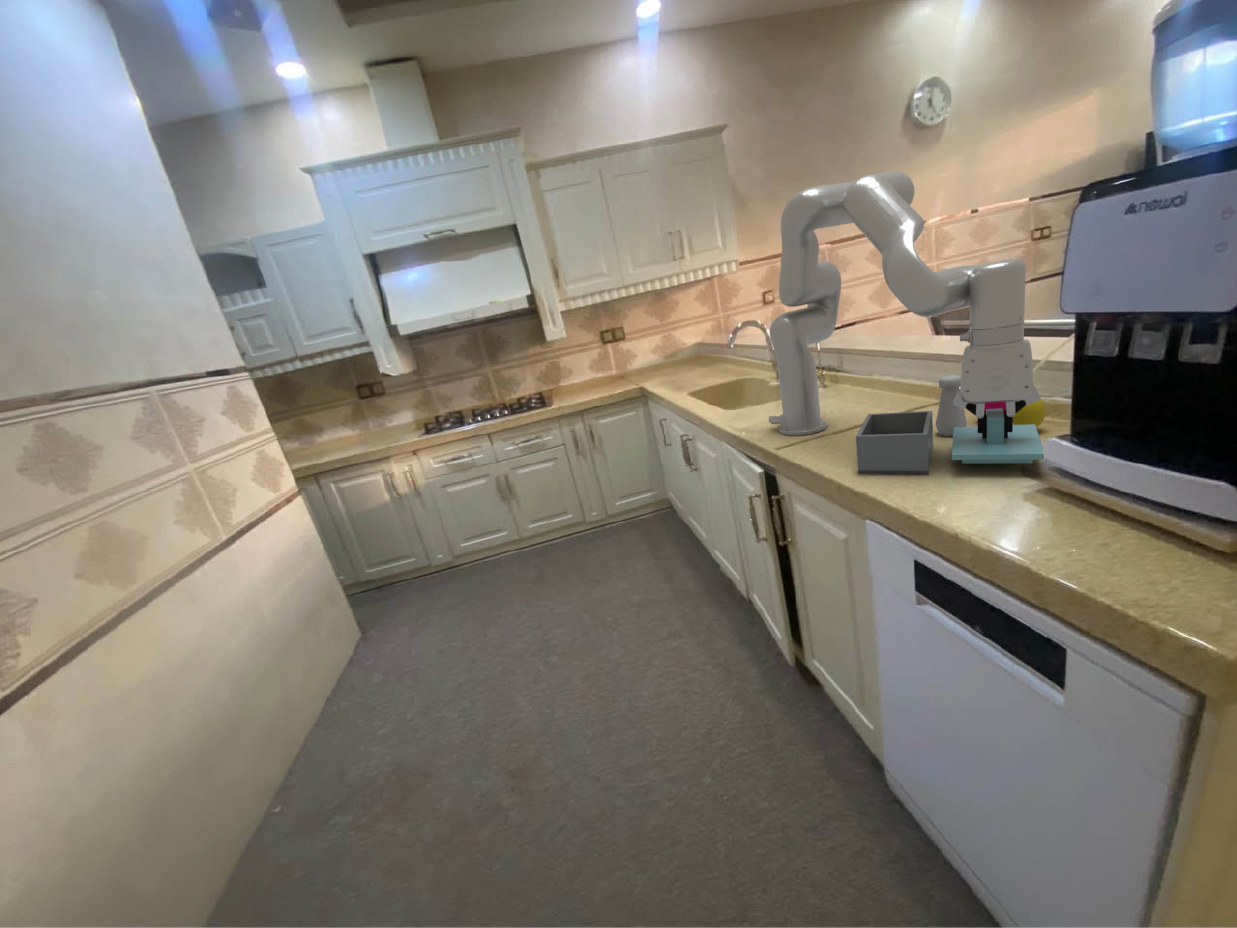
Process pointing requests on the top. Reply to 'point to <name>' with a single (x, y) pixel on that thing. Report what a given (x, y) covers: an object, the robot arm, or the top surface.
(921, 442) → the tub
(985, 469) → the top surface
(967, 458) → the lid
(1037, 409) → the lemon
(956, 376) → the salt shaker
